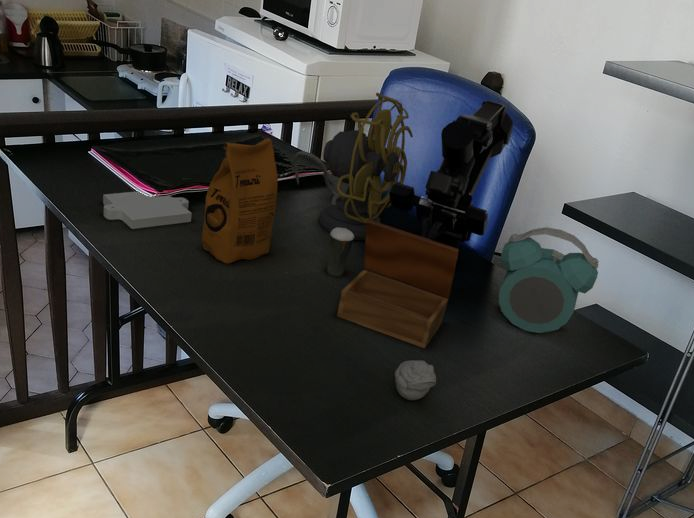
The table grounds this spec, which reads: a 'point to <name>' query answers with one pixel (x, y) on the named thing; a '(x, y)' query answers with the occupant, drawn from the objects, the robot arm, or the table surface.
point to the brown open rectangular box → (392, 308)
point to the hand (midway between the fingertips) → (421, 248)
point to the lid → (410, 258)
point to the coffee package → (241, 203)
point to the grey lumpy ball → (414, 379)
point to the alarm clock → (543, 281)
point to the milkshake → (339, 250)
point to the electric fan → (362, 169)
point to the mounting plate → (145, 209)
